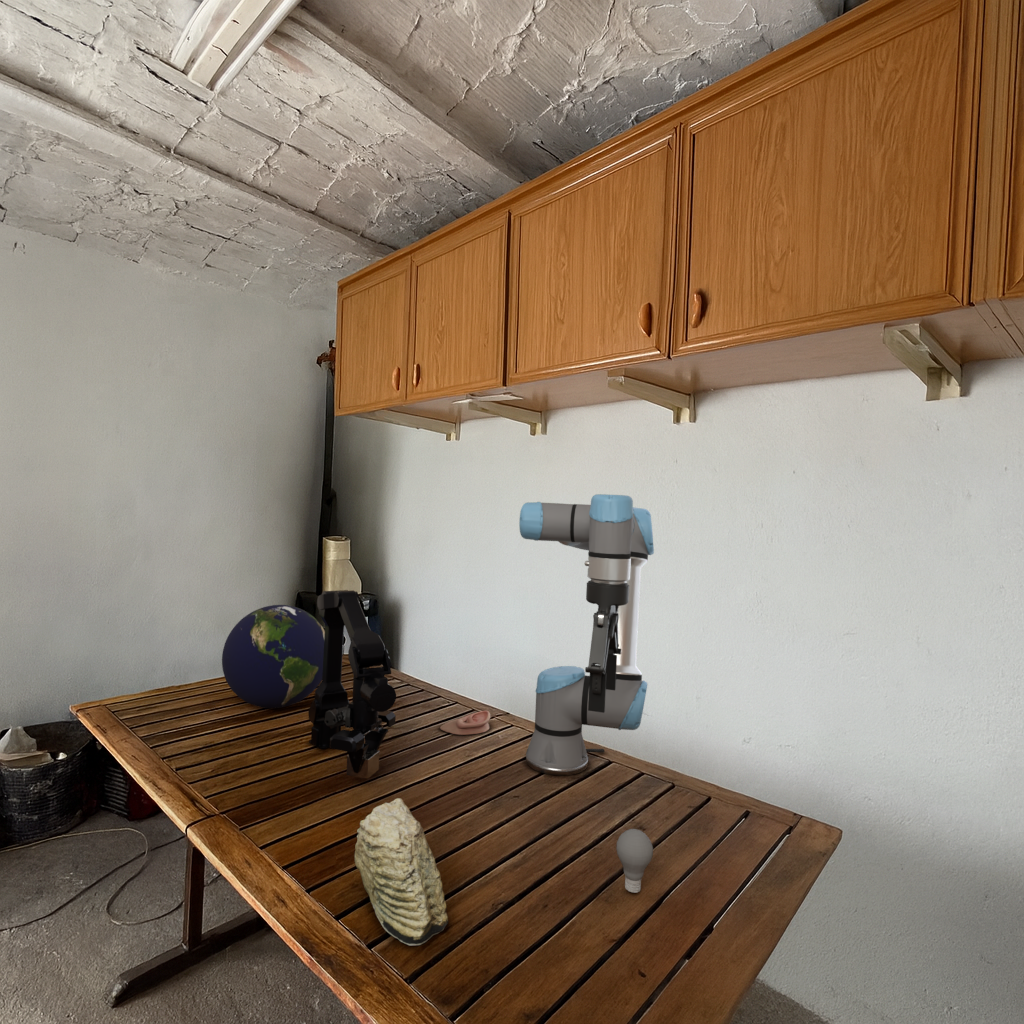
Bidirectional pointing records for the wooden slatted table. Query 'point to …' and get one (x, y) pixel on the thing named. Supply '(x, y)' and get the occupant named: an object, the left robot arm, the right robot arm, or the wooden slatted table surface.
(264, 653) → the globe
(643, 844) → the light bulb
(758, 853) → the wooden slatted table surface
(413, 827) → the fossil
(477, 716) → the anatomical model
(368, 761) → the grey metal block
